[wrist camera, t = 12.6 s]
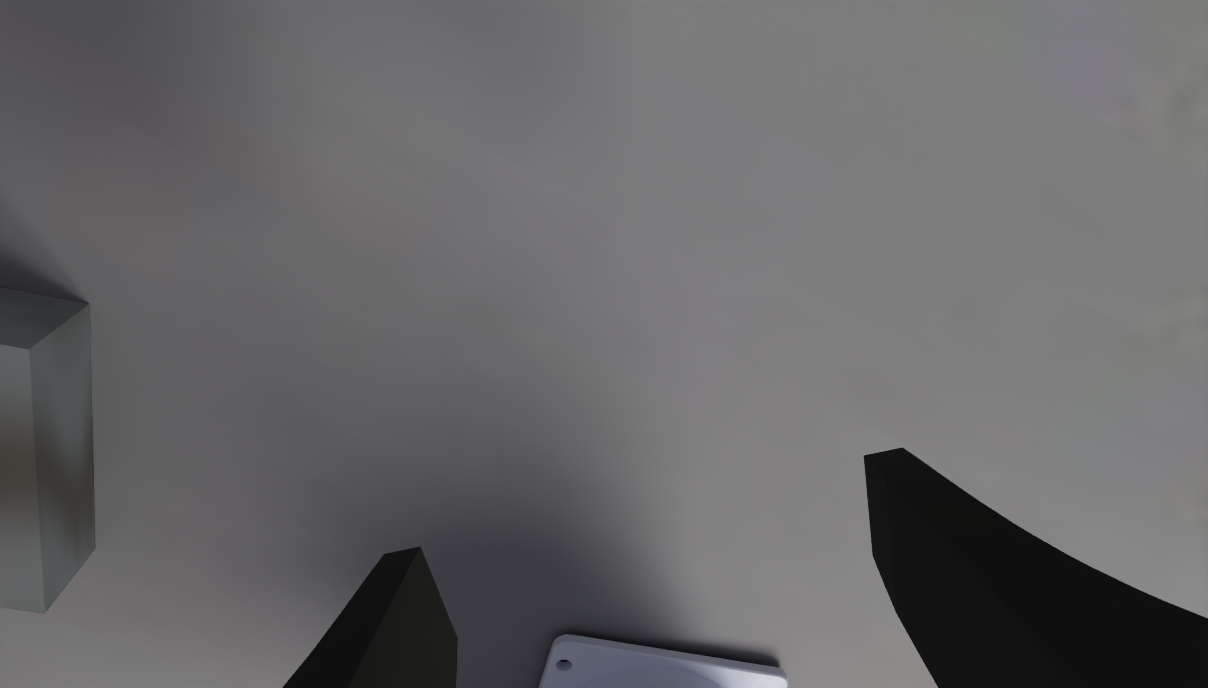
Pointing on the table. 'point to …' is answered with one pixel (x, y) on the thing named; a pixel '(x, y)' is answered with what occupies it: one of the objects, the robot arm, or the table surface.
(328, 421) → the table surface
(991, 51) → the table surface
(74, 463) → the slate slab
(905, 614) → the robot arm
